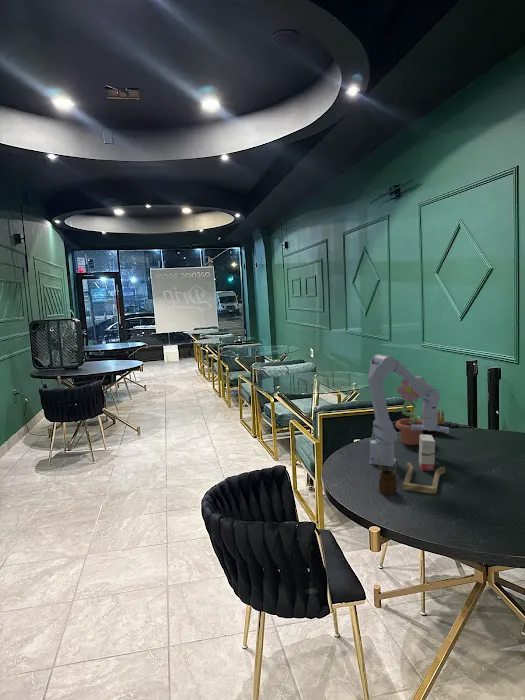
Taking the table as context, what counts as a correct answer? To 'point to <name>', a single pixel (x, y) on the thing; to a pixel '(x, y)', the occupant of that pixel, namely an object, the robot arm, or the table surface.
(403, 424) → the decorative flower
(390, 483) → the utensil holder
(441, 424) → the ammunition clip
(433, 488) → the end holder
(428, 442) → the ink box
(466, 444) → the table surface
